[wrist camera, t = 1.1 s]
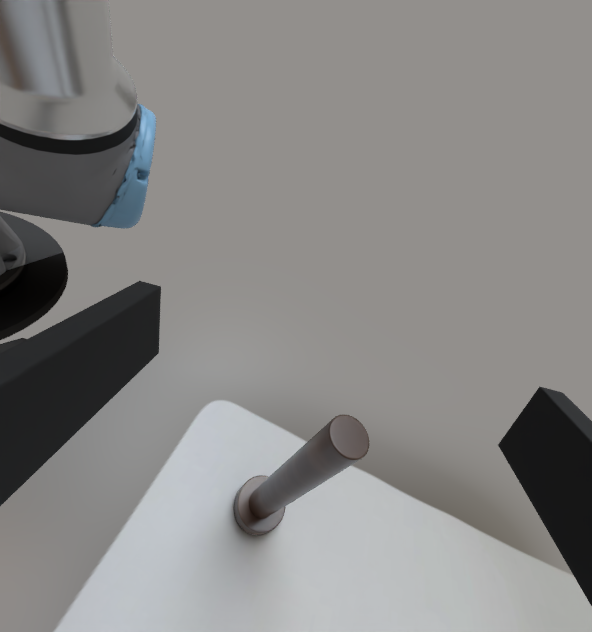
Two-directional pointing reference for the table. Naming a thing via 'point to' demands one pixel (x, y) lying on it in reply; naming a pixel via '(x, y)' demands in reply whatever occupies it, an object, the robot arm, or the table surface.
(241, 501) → the muddler
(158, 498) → the table surface
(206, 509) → the table surface
